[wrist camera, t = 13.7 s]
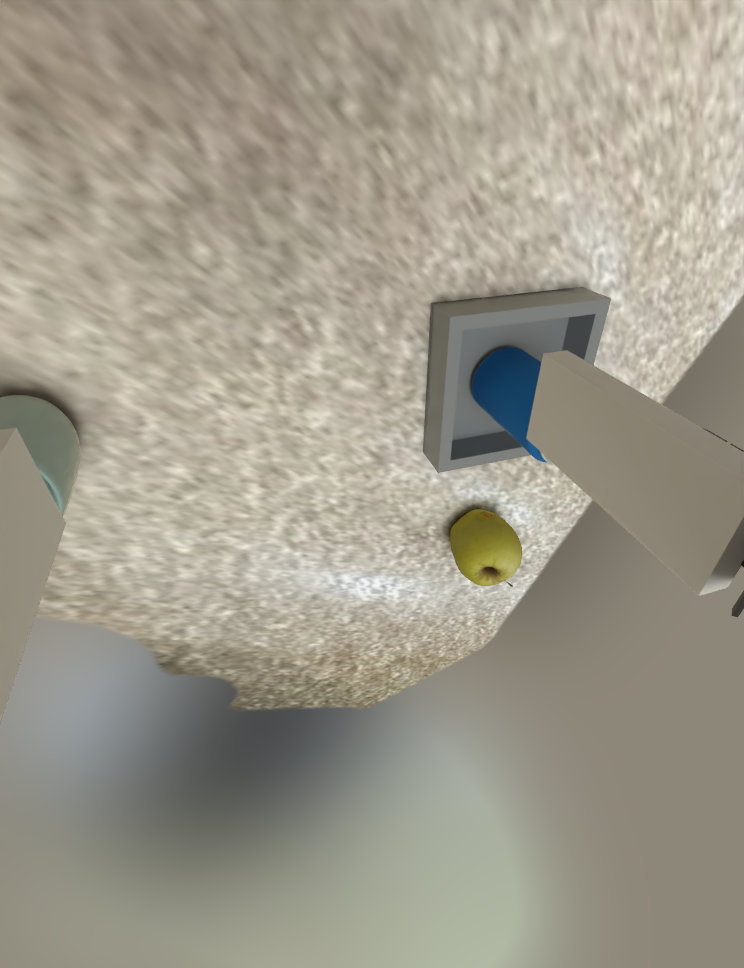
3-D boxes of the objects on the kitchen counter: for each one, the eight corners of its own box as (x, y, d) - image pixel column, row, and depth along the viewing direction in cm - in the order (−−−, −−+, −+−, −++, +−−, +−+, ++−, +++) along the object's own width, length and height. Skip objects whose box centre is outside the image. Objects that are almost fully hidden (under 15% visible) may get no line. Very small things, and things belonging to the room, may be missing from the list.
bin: (431, 303, 42) (450, 317, 39) (582, 287, 45) (611, 298, 42) (423, 452, 51) (438, 472, 48) (549, 429, 54) (571, 447, 51)
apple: (516, 496, 57) (551, 571, 51) (484, 533, 63) (512, 604, 57) (458, 494, 54) (488, 573, 48) (430, 533, 60) (454, 607, 54)
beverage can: (455, 385, 46) (520, 448, 37) (502, 330, 45) (584, 382, 35) (494, 417, 50) (562, 482, 41) (539, 368, 48) (622, 424, 39)
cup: (51, 366, 36) (12, 430, 28) (108, 450, 41) (88, 524, 33) (-56, 399, 35) (-127, 474, 27) (14, 480, 40) (-29, 564, 32)
